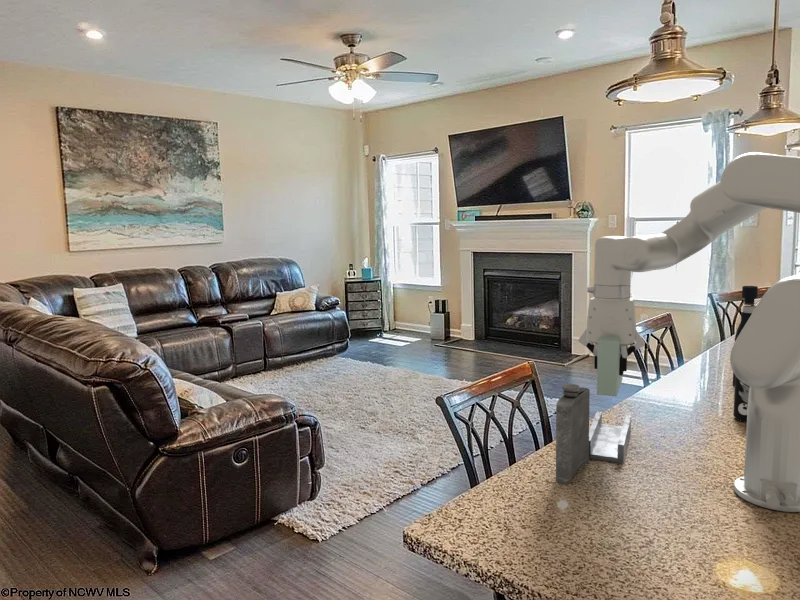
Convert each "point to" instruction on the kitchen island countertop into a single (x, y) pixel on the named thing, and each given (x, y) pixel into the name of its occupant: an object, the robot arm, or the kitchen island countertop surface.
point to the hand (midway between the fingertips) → (610, 372)
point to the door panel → (608, 366)
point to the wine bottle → (746, 310)
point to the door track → (608, 439)
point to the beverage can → (741, 400)
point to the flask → (572, 432)
